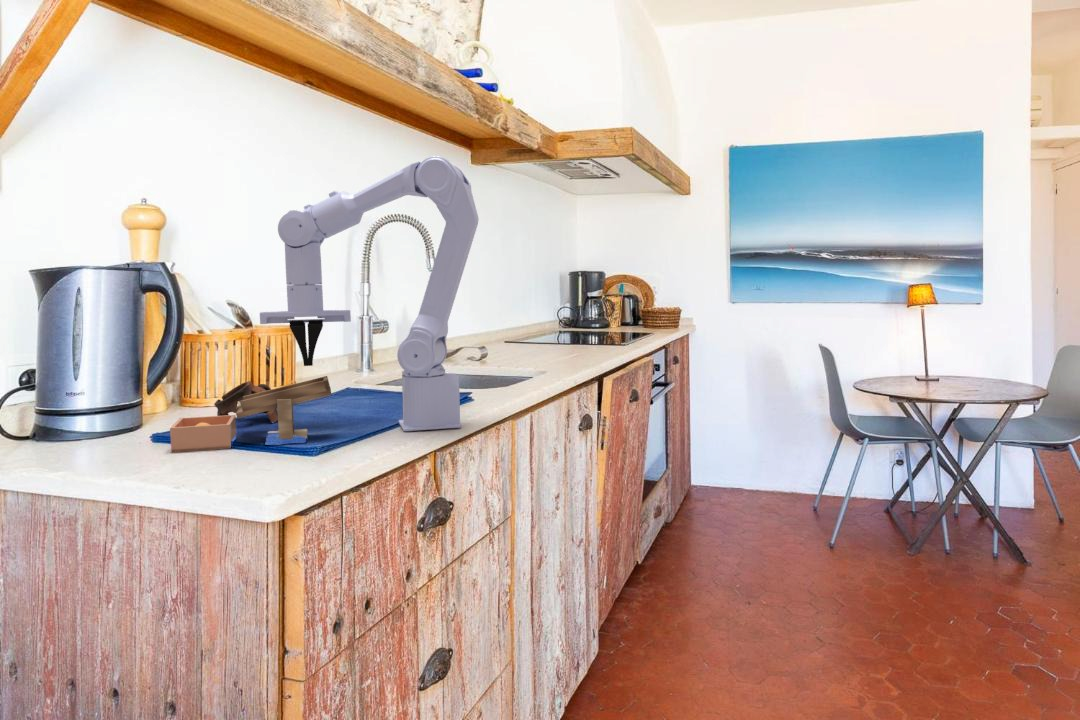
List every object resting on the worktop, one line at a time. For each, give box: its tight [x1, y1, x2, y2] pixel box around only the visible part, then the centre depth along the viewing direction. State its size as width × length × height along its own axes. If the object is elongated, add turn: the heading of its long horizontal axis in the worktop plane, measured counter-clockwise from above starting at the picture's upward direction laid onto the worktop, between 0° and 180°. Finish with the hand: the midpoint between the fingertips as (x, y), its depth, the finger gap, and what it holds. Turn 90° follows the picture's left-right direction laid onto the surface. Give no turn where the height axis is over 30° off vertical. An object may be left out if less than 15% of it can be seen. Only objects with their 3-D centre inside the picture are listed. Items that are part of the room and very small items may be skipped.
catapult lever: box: [235, 375, 332, 419], centre depth 115 cm, size 14×11×2 cm
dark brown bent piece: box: [213, 380, 278, 423], centre depth 128 cm, size 12×10×8 cm
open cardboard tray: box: [169, 414, 237, 454], centre depth 110 cm, size 8×8×4 cm
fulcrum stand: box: [267, 399, 308, 439], centre depth 113 cm, size 6×8×7 cm
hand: (308, 365), depth 123 cm, fingers closed
